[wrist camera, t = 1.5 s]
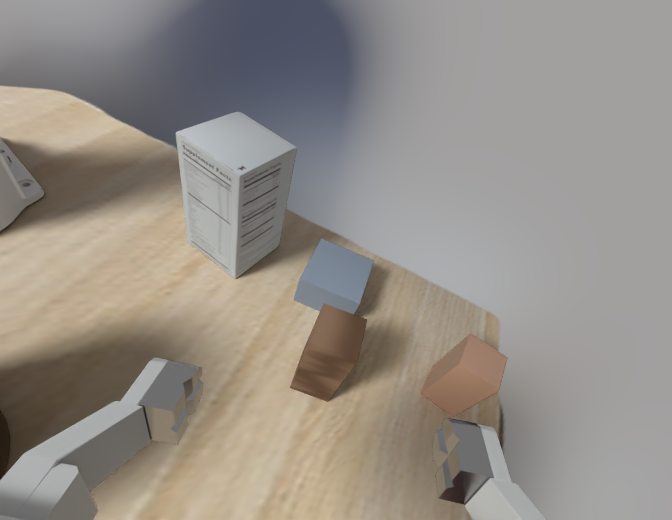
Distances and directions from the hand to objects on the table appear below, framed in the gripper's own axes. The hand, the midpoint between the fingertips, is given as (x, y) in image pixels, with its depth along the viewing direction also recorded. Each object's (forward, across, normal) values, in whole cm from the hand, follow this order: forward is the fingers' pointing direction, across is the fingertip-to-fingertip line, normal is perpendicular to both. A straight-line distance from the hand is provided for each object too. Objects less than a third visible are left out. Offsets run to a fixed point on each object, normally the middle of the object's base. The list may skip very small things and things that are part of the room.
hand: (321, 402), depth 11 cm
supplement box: (+34, +15, +17) cm, 41 cm away
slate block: (+31, 0, +20) cm, 37 cm away
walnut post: (+18, 0, +23) cm, 29 cm away
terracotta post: (+21, -16, +24) cm, 36 cm away
